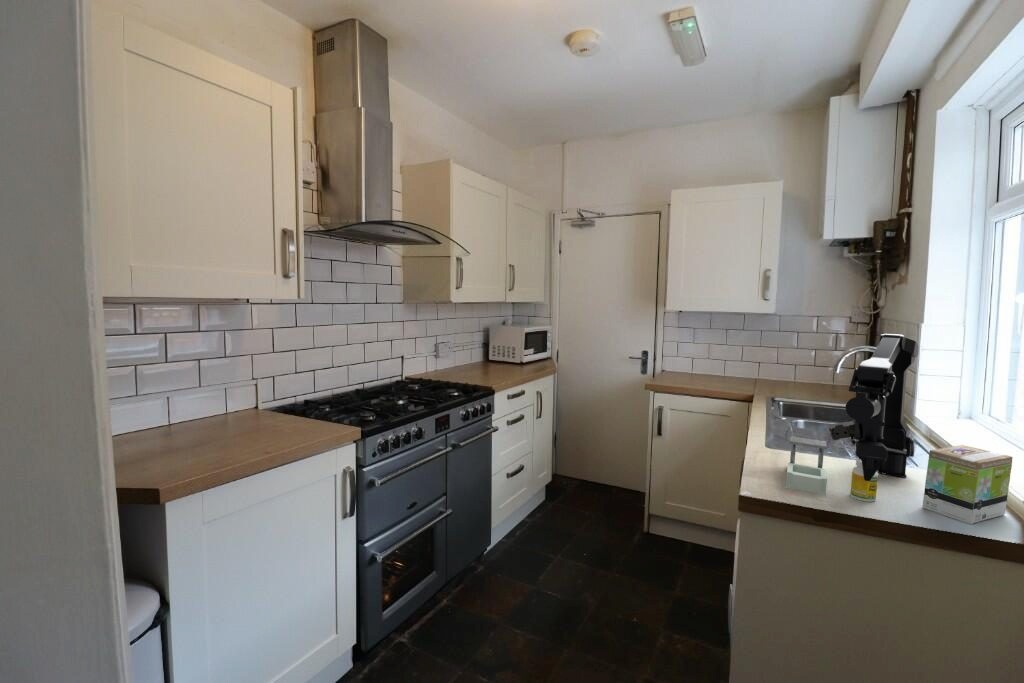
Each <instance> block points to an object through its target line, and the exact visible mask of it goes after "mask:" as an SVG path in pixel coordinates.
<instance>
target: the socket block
mask: <svg viewBox="0 0 1024 683" xmlns="http://www.w3.org/2000/svg"><path fill="white" fill-rule="evenodd" d="M786 469H787V471H786V479H785V481H786V482H785V488H786V489H792V490H796V491H802V492H807V493H812V494H816V495H822V496H823V495H824V496H827V485H828V484H827V483H828V477H827V476H828V475H827V469H826V468H824V467H822V468H818V466H817V467H815V466H809V465H805V464H797V463H795V464H793V463H790V462H788V463H787V468H786Z"/></svg>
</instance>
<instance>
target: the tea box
mask: <svg viewBox="0 0 1024 683" xmlns="http://www.w3.org/2000/svg"><path fill="white" fill-rule="evenodd" d="M1012 465H1013V456H1011V455H1008V454H1002V453H999V452H994V451H990V450H986V449H981V448H978V447H973V446H968V445H964V444H960V445H956V446H955V445H954V446H949V447H948V446H946V447H942V448H935V449H931V450H929V454H928V462H927V468H926V476H925V484H924V493H923V497H922V498H923V499H922V508H923V509H926V510H929V511H930V512H933V513H936V514H939V515H942V516H945V517H949V518H951V519H953V520H958V521H959V522H962V523H964V524H965V523H966V524H968V525H973V524H974V523H979V522H982V521H986V520H989V519H993V518H998V517H1001V516H1004V515H1005V514H1006V509H1007V502H1008V494H1009V486H1010V481H1011V472H1012Z"/></svg>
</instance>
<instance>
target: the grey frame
mask: <svg viewBox="0 0 1024 683" xmlns="http://www.w3.org/2000/svg"><path fill="white" fill-rule="evenodd" d="M789 438H790V439H789V445H790V458H789V459H790V460H789V463H793V464H796V462H795V461H796V450H797V449H796V448H797V446H801V447H807V448H808V447H809V448H815V449H818V458H817V468H824V467H823V465H824V455H825V454H824V453H825V450H827V448H828V446H827V441H826V440H819V439H813V438H803V437H797V436H789Z"/></svg>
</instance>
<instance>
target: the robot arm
mask: <svg viewBox="0 0 1024 683" xmlns="http://www.w3.org/2000/svg"><path fill="white" fill-rule="evenodd" d="M919 349H920V348H919V345H918V342H917V341H916V340H913V339H910V338H907V337H906V336H905V335H903V334H896V333H883V334H880V338H878V340H877V346H876V348H875V350H874V351H873V354H872V355H871V357H870V358H869V359H866V360H862V361H861V362H860V364H859V365H858V366H857V367H855V368H854V371H853V374H852V378H851V381H850V384H849V388H848V392H852V393H855V397H852V398H850V399H849V400H848V401H846V404H845V412H846V414H847V415H848V416H849V417H850V418H851V419H852V420H851V421H843V422H838V423H831V424H828V425H827V427H828V430H829V433H830V437H831V439H832V441H839V440H840V439H846V438H850V442H851V444H853V445H854V455H855V456H856V457H857V458H858V459H861V461H862V468H863V475H864V480H865V481H870V480H871V479H872V477H873V476H874V474H875V473H876V472H877V473H878V474H882V475H888V476H895V477H900V478H907V474H906V471H907V470H906V469H907V460H908V458H910V457H915V442H914V441H913V437H912V435H910V434H911V429H910V427H909V425H908V424H907V423H906V421H905V420H904V417H905V416H904V415H905V404H906V403H905V402H906V401H905V400H906V397H905V396H906V386H907V375H908V374H907V372H908V370H909V368H910V367H911V366H912V365H913V364H914V363H915V362H916V358H918V355H919V351H920V350H919Z"/></svg>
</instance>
